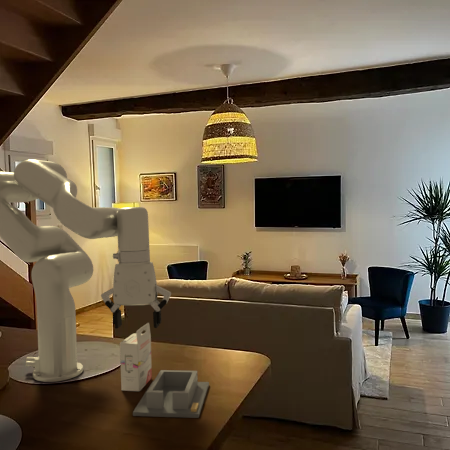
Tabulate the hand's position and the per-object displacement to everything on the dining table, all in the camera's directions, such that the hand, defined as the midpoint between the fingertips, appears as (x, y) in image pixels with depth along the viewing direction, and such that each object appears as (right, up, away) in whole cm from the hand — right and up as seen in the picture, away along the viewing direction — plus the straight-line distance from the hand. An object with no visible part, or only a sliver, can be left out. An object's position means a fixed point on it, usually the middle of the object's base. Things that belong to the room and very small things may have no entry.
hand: (137, 326), depth 111 cm
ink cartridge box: (0, -15, +1) cm, 15 cm away
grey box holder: (+10, -15, -8) cm, 19 cm away
